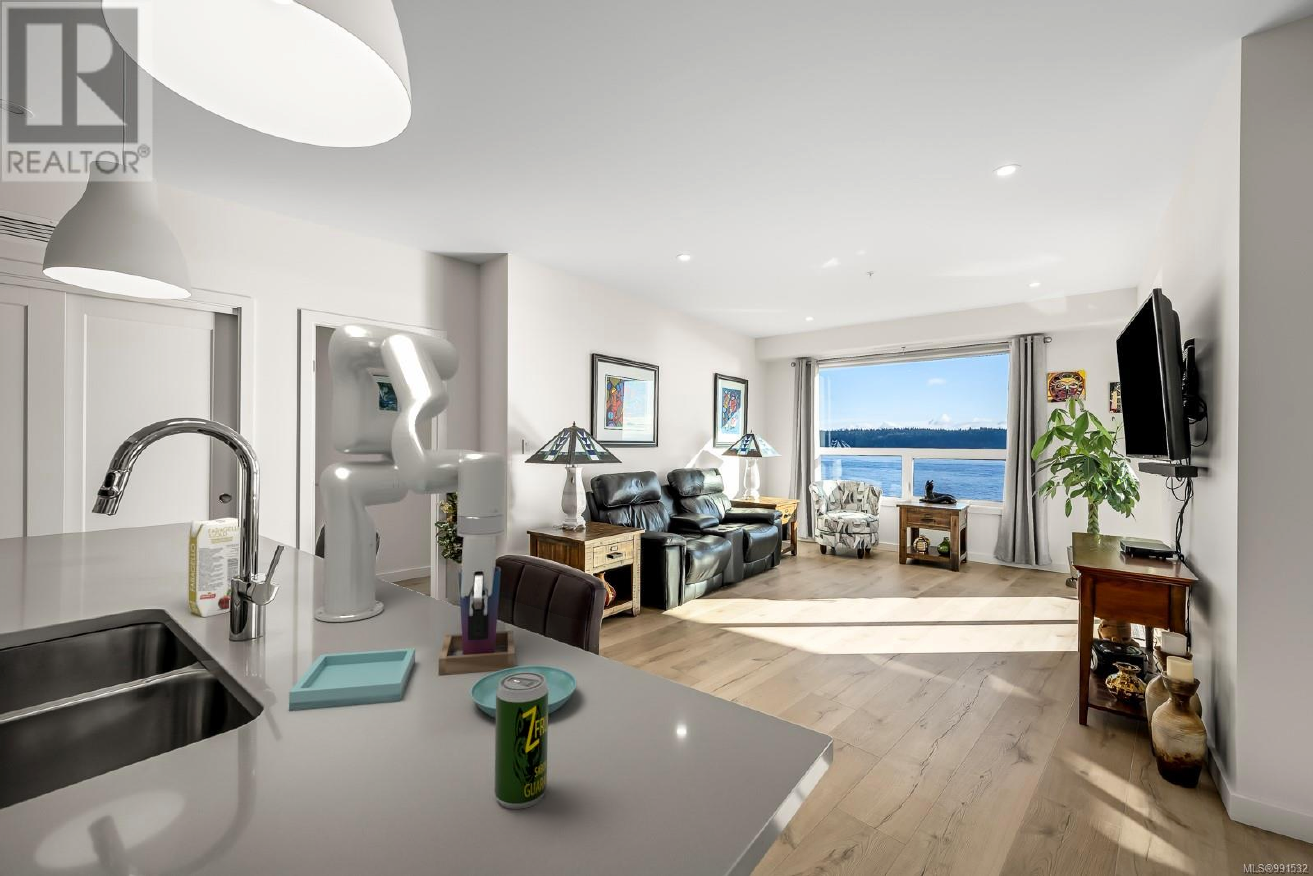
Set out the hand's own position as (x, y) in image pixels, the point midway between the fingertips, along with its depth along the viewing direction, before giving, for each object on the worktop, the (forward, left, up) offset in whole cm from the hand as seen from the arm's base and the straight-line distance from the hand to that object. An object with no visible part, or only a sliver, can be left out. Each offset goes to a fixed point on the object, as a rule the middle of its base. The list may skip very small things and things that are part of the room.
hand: (479, 631), depth 100 cm
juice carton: (-38, -54, -5) cm, 66 cm away
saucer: (+18, +7, -5) cm, 20 cm away
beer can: (+40, +6, -5) cm, 41 cm away
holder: (0, 0, -5) cm, 5 cm away
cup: (0, 0, -5) cm, 5 cm away
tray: (+7, -17, -5) cm, 19 cm away
